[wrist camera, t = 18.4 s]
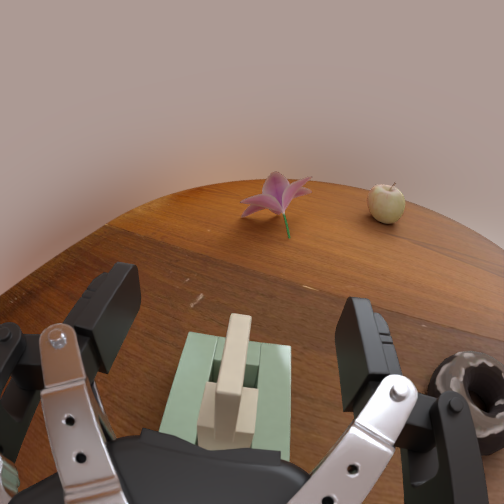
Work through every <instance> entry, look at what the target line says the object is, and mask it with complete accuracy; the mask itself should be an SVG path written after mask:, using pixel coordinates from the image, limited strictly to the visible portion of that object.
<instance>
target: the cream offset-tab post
mask: <svg viewBox="0 0 504 504" xmlns="http://www.w3.org/2000/svg"><path fill="white" fill-rule="evenodd" d="M251 320H252V318H251V316H248V315H241V314H234V313H233V314H231V315H230V320H229V325H228V330H227V335H226V340H225V345H224V350H223V355H222V360H221V365H220V370H219V375H218V380H217V383H213V382H206V385H205V389H204V393H203V398H202V402H201V407H200V411H199V416H198V420H197V436H198V446H199V447H202V448H204V449H207V450H226V449H238V448H250V446H251V443H252V440H253V437H254V433H255V423H256V413H257V402H258V391H259V390H258V389H255V388H247V387H243V381H244V374H245V366H246V358H247V351H248V343H249V335H250V327H251Z"/></svg>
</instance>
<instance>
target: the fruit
mask: <svg viewBox="0 0 504 504" xmlns="http://www.w3.org/2000/svg"><path fill="white" fill-rule="evenodd" d="M395 184H396V183H394V184H393V185H392V186H389V185H383V184H379V185H376V186H374V187H373V188H372V189H371V190H370V192H369V194H368V198H367V204H368V208H369V211H370V213H371V214H372V216H373V217H374V218H375V219H376V220H378V221H380V222H382V223H386V224H390V223H395V222H396V221H397V220H399V219H400V217H401V216H402V214H403V212H404V208H405V199H404V196H403V194H402V193H401V192H400V191H399V190H398V189H397V188H396V187H394V185H395Z"/></svg>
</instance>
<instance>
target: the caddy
mask: <svg viewBox="0 0 504 504" xmlns="http://www.w3.org/2000/svg"><path fill="white" fill-rule="evenodd" d="M225 340H226V338H225V337H218V336H212V335H206V334H200V333H194V332H189V333H188V336H187V339H186V342H185V346H184V349H183V352H182V355H181V358H180V361H179V365H178V368H177V371H176V374H175V378H174V381H173V384H172V388H171V391H170V394H169V397H168V401H167V404H166V408H165V411H164V414H163V418H162V421H161V425H160V428H159V432H162V433H166V434H170V435H175V436H177V437H179V438H181V439H184V440H186V441H188V442H190V443H192V444H195V445H197V446H198V436H197V420H198V416H199V411H200V407H201V402H202V398H203V393H204V389H205V385H206V382H213V383H217V380H218V375H219V370H220V365H221V360H222V355H223V350H224V345H225ZM243 387H247V388H255V389H258V390H259V391H258V402H257V413H256V423H255V433H254V437H253V440H252V443H251V446H250V448H254V449H264V450H276V451H281V459H283V460H286V461H288V462H289V461H290V423H291V346H286V345H277V344H269V343H260V342H253V341H249V343H248V351H247V358H246V366H245V374H244V381H243Z"/></svg>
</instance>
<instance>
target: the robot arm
mask: <svg viewBox="0 0 504 504" xmlns="http://www.w3.org/2000/svg"><path fill="white" fill-rule="evenodd" d="M140 304H141V292H140V284H139V276H138V268H137V266H136V265H134V264H128V263H122V262H117V263H116V264H115V265H114V266H113V268H112V269H111V270H110V272H109V273H105V272H104V273H102V274H101V275H99V276H98V277H96V278H95V279H93V281H92V282H91V284H90V285H89V286H88V288H87V290H85V292H84V293H83V294H82V297H80V299H79V300H78V301H77V303H76V304H75V306H74V307H73V309H72V310H71V311H70V313H69V314H68V316H67V317H66V319H65V320H64V322H63V323H58V324H54V325H51V326H49V327H48V328H46V329H45V330H44V331H43V332H42V334H23V333H22V331H21V329H20V327H19V326H18V325H17V324H15V323H12V322H7V323H3V324H1V325H0V396H1V393H2V390H3V388H4V387H5V385H6V383H7V381H8V379H9V377H10V376H11V377H12V378H11V380H10V382H9V384H8V386H7V388H6V390H5V392H4V394H3V396H2V398H1V400H0V504H361V503H362V502H363V500H364V499H365V498H366V496H367V495H368V493H369V492H370V490H371V489H372V487H373V486H374V484H375V483H376V481H377V480H378V478H379V477H380V475H381V474H382V472H383V470H384V469H385V467H386V465H387V464H388V462H389V460H390V459H391V457H392V455H393V454H394V451H395V447H399V448H400V450H401V461H402V473H403V488H404V504H489V501H488V493H487V487H486V480H485V474H484V468H483V463H482V458H481V453H480V448H479V444H478V439H477V435H476V431H475V427H474V423H473V419H472V415H471V412H470V408H469V405H468V402H467V401H466V399H465V398H464V397H463V396H462V395H461V394H459V393H458V392H455V391H445V392H443V393H442V394H441V395H440V396H439V397H438V398H435V397H431V396H428V395H424V394H421V393H418V392H417V389H416V387H415V385H414V384H413V383H412V382H411V381H410V380H409V379H407V378H406V377H404V376H403V375H402V372H401V368H400V365H399V361H398V358H397V354H396V351H395V347H394V345H393V341H392V337H391V336H390V331H389V328H388V325H387V323H386V321H385V320H384V319H383V317H382V316H381V315H380V314H379V313H373V310H372V307H371V303H370V300H369V299H366V298H358V297H349V298H348V299H347V301H346V304H345V306H344V309H343V311H342V314H341V316H340V319H339V321H338V324H337V327H336V331H335V345H336V352H337V360H338V368H339V376H340V384H341V393H342V403H343V412H354V419H353V421H352V422H351V423H350V425H349V426H348V427H347V429H346V430H345V431H344V433H343V434H342V435H341V437H340V438H339V439H338V440H337V442H336V443H335V444H334V445H333V447H332V448H331V449H330V450H329V452H328V453H327V454H326V455H325V456H324V458H323V459H322V460H321V461H320V462H319V463H318V464H317V466H316V467H315V468H314V469H313V470H312V471H311V472H310V473H309V474H308V473H307V472H306V471H304V470H303V469H301V468H300V467H298V466H296V465H295V464H293V463H290V462H288V461H286V460H283V459H281V451H276V450H264V449H254V448H238V449H226V450H207V449H204V448H202V447H199V446H197V445H195V444H192V443H190V442H188V441H186V440H184V439H181V438H179V437H177V436H175V435H170V434H166V433H162V432H158V431H154V430H150V429H146V428H142V431H141V434H140V435H135V436H126V437H121V438H116V436H115V434H114V431H113V429H112V427H111V425H110V423H109V420H108V418H107V415H106V412H105V409H104V406H103V403H102V400H101V397H100V394H99V391H98V388H97V384H96V381H95V379H94V378H95V376H96V374H97V372H98V371H99V372H102V373H105V374H108V373H109V370H110V368H111V366H112V364H113V362H114V360H115V358H116V356H117V353H118V351H119V349H120V347H121V345H122V343H123V341H124V339H125V337H126V335H127V333H128V331H129V329H130V327H131V325H132V323H133V321H134V319H135V317H136V315H137V313H138V311H139V308H140ZM40 399H41V403H42V409H43V414H44V419H45V424H46V429H47V433H48V438H49V442H50V446H51V450H52V453H53V457H54V461H55V464H56V468H57V471H58V472H56V473H55V474H53V475H51V476H49V477H47V478H45V479H44V480H42V481H40V482H38V483H36V484H34V485H32V486H30V487H29V488H27V489H25V490H23V491H21V492H19V493H18V489H17V488H18V487H19V486H20V480H19V478H18V471H17V468H16V466H15V461H16V459H17V456H18V453H19V450H20V448H21V445H22V442H23V440H24V437H25V435H26V432H27V430H28V427H29V425H30V422H31V420H32V418H33V415H34V413H35V410H36V408H37V406H38V404H39V401H40ZM394 446H395V447H394Z"/></svg>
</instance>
